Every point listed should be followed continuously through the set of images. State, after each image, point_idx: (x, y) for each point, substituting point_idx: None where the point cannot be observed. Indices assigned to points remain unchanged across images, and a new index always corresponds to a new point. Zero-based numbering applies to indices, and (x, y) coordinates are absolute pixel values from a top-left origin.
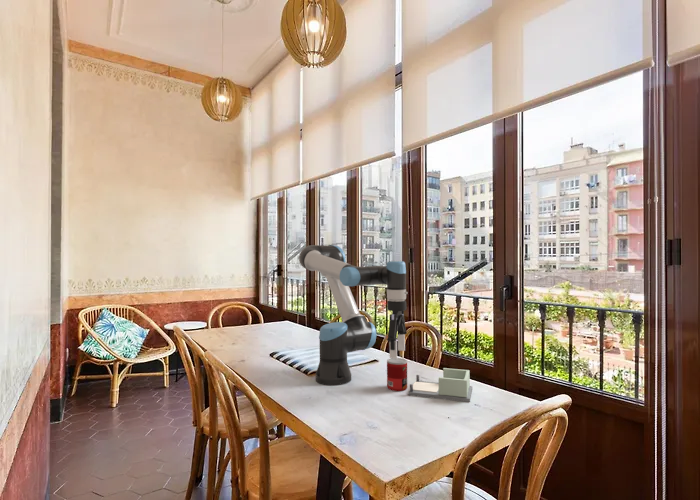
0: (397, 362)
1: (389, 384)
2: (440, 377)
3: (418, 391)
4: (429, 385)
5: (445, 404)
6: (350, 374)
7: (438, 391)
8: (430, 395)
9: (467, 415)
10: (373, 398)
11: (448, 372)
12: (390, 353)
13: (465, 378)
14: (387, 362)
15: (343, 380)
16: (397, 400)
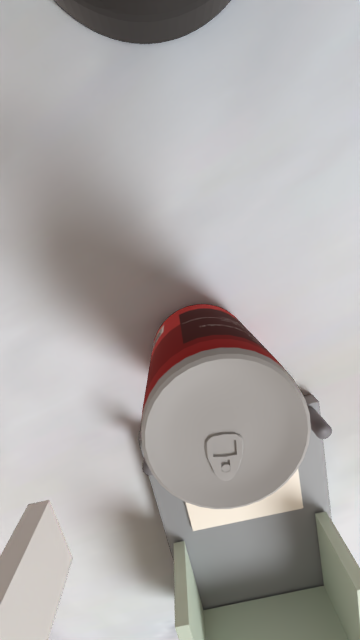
0: (192, 451)
1: (155, 340)
2: (187, 631)
3: None
4: None
5: (125, 564)
6: (182, 1)
7: (212, 527)
8: (161, 513)
9: (73, 634)
10: (5, 323)
11: (347, 589)
12: (3, 565)
13: None
14: (165, 373)
15: (87, 14)
16: (53, 420)
